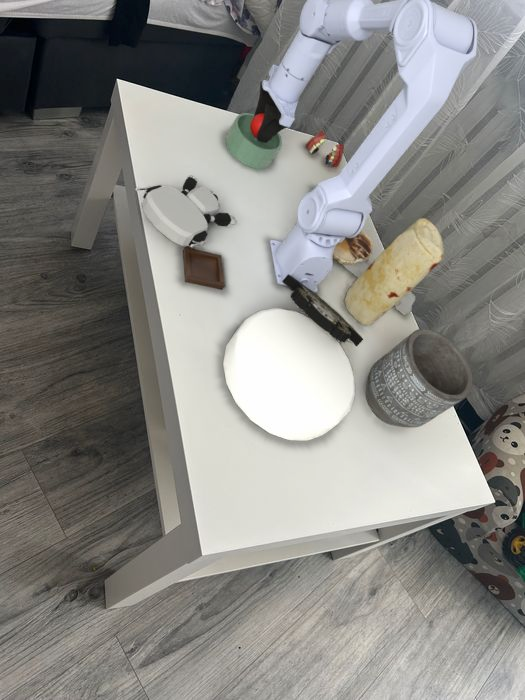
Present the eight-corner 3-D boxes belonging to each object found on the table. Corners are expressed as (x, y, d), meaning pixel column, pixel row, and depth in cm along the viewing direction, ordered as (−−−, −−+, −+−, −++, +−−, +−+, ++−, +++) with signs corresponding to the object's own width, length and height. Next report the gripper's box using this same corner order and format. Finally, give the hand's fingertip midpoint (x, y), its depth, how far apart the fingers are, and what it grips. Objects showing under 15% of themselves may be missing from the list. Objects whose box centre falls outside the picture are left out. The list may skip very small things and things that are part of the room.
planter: (429, 425, 98) (486, 390, 89) (381, 445, 91) (438, 409, 81) (392, 362, 102) (443, 322, 93) (343, 377, 94) (393, 334, 85)
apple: (269, 148, 112) (283, 125, 108) (247, 140, 110) (261, 117, 106) (266, 131, 114) (279, 109, 111) (244, 124, 112) (257, 101, 108)
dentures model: (307, 143, 120) (340, 164, 121) (317, 126, 121) (349, 148, 122) (299, 153, 125) (331, 174, 127) (309, 137, 126) (340, 158, 127)
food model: (377, 333, 104) (457, 263, 90) (345, 325, 102) (423, 251, 87) (367, 289, 110) (441, 217, 95) (337, 281, 107) (409, 204, 92)
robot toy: (183, 184, 102) (123, 207, 91) (194, 164, 99) (134, 185, 88) (233, 235, 101) (178, 264, 90) (246, 217, 98) (191, 244, 87)
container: (206, 322, 87) (219, 304, 83) (313, 321, 98) (329, 305, 95) (247, 450, 79) (264, 435, 75) (359, 432, 90) (378, 419, 87)
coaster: (222, 290, 92) (225, 286, 91) (184, 282, 89) (187, 278, 88) (218, 259, 95) (221, 255, 94) (182, 250, 92) (184, 246, 92)
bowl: (273, 174, 115) (285, 157, 111) (228, 159, 110) (238, 141, 107) (267, 140, 120) (278, 123, 116) (223, 125, 115) (233, 106, 112)
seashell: (358, 207, 100) (383, 254, 105) (341, 203, 105) (366, 248, 110) (322, 235, 100) (349, 281, 105) (307, 229, 105) (334, 273, 110)
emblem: (363, 334, 100) (364, 351, 86) (356, 341, 101) (357, 359, 86) (291, 272, 100) (280, 278, 86) (285, 279, 100) (273, 286, 86)
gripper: (270, 35, 103) (236, 99, 113) (282, 87, 96) (245, 151, 106) (304, 51, 107) (268, 111, 117) (318, 102, 99) (279, 162, 109)
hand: (259, 131), depth 111 cm, fingers closed on apple, 4 cm apart
